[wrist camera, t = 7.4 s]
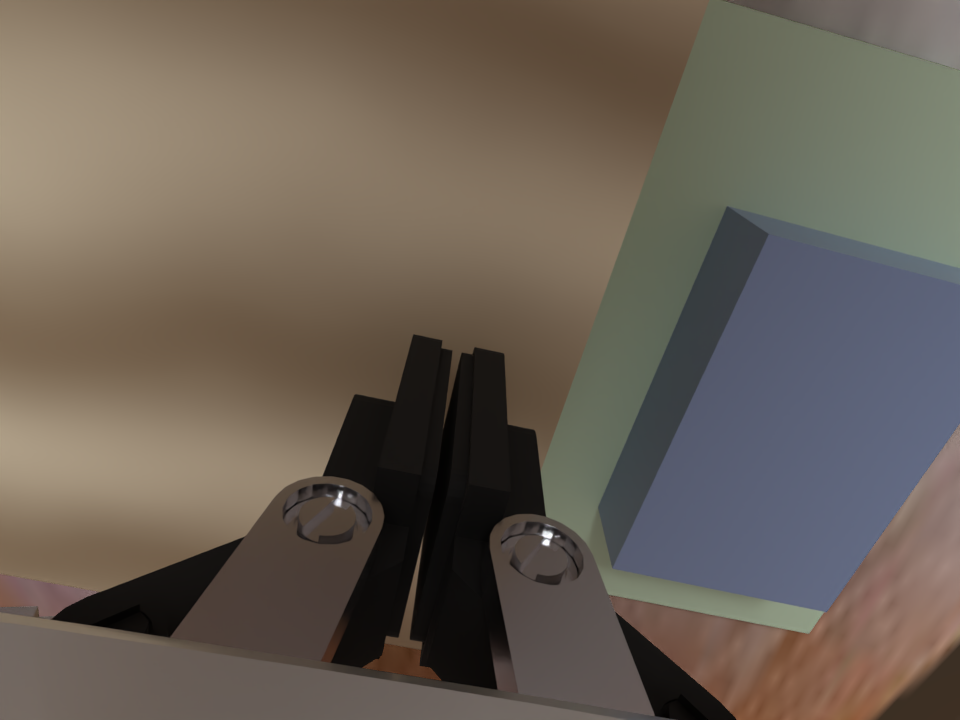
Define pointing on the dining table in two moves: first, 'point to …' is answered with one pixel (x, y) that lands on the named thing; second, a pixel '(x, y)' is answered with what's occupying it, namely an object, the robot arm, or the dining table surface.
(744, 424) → the blue rectangular block
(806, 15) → the dining table surface
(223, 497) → the plate
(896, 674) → the dining table surface
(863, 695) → the dining table surface
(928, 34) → the dining table surface
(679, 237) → the mat
